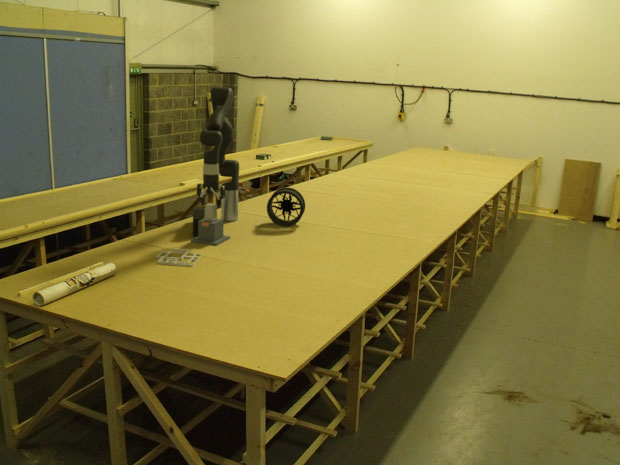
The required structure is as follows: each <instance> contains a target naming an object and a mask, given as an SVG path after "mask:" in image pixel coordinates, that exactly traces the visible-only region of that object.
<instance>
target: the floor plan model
mask: <svg viewBox="0 0 620 465" xmlns="http://www.w3.org/2000/svg"><path fill="white" fill-rule="evenodd" d="M162 254H165V255H162ZM170 254H175V255H181V257H176V256H169V255H170ZM202 256H203V254H201V253H192V252H190V250H189V249H188V248H176V247H175V248H173V247H172V249H171V251H169V250H161V251H159V253H158V254H157V255H156V256H155V258H156V259H158V260H157V264H158V265H167V266H168V265H169V266H170V265H171V266H178V267H179V266H180V267H194V266H195V265H196V264H197V263H198V262H199V259H200V258H201V257H202ZM184 259H190V260H188V261H187V262H186V261H183V260H184ZM191 262H193V263H191Z"/></svg>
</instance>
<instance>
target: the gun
mask: <svg viewBox="0 0 620 465" xmlns="http://www.w3.org/2000/svg"><path fill="white" fill-rule="evenodd" d="M204 218H205V207H192V231H191V232H192V236H195V237H198V221H200V220H202V219H204Z"/></svg>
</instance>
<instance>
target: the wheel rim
mask: <svg viewBox="0 0 620 465" xmlns="http://www.w3.org/2000/svg"><path fill="white" fill-rule="evenodd" d="M287 195H288V197H286V196H287ZM278 196H281V197H282V199H281V200H279V199H278ZM293 198H295V199H296V201H293ZM275 199H276V201H274V200H275ZM273 204H278V206H277V205H273ZM296 205H297V206H299V207H296ZM273 208H275V209H276V210H275V212H274V209H273ZM305 209H306V201H305V198H304V196H303V194H302V193H301V192H299V191H298V190H297V189H295V188H292V187H289V186H287V187H286V186H285V187H281V188H279V189H277V190H275V191H274V192H273V193H272V195H271V196H270V198H269V199H268V201H267V204H266V212H267V213H266V214H267V216H268V218H269V219H270V220H271V221H272V222H273V223H274V224H275V225H277V226H279V227H285V228H286V227H292V226H295V225H296V224H297V223H299V221H301V218H302V217H303V214H304V213H305V211H306V210H305ZM278 210H279V211H281V210H282V211H281V214H279V215H277V214H276V213H277V212H278ZM298 210H299V212H298ZM292 212H295V213H296V214H297V216H295V215H293V214H292ZM286 215H287V220H286ZM280 216H282V217H283V219H282V218H280ZM290 217H293V219H290Z"/></svg>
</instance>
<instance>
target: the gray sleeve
mask: <svg viewBox="0 0 620 465" xmlns="http://www.w3.org/2000/svg"><path fill="white" fill-rule="evenodd" d="M230 239H231V236H230V235H224V220H223V219H221V218H217V221H214V222H208V221H205V218H204V219H202V220H200V221H198V236H195V237H194V238H192V239H190V241H191V242H192V243H197V244H204V245H212V246H219V245H220V244H221V245H222V244H223V243H224V242H226V241H228V240H230ZM191 242H190V243H191Z"/></svg>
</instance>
